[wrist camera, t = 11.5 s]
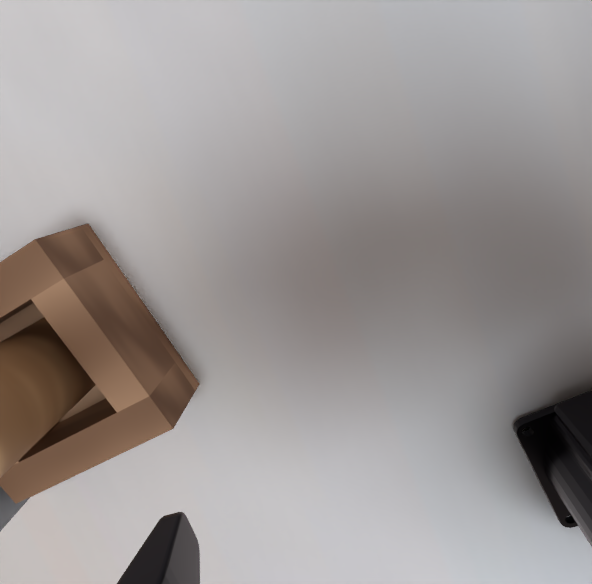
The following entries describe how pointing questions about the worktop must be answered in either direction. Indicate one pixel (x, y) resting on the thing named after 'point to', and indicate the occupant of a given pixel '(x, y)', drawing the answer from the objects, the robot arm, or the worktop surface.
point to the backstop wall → (8, 508)
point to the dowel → (35, 388)
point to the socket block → (91, 356)
